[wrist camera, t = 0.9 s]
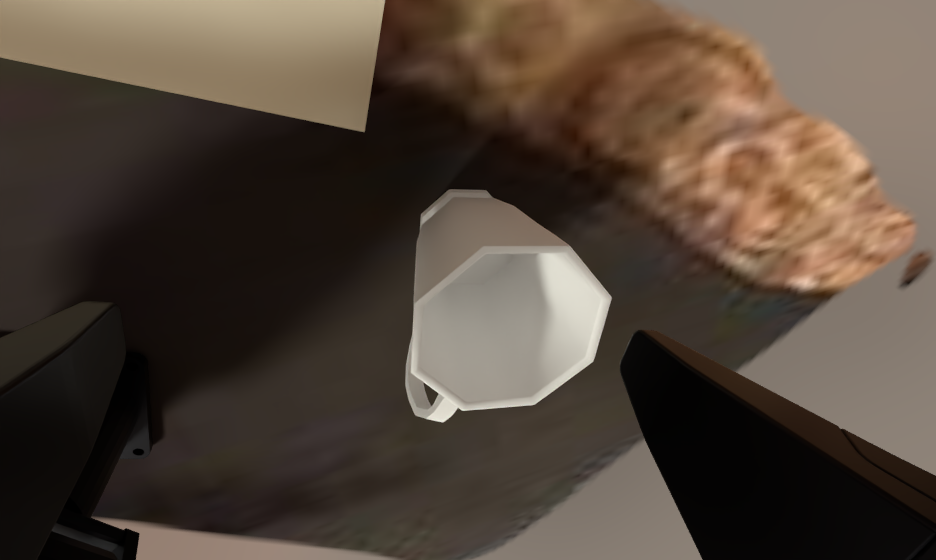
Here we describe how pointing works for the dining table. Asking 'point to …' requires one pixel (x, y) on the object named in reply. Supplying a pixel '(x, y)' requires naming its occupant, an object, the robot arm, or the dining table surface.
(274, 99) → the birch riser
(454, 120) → the dining table surface
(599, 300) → the cup
